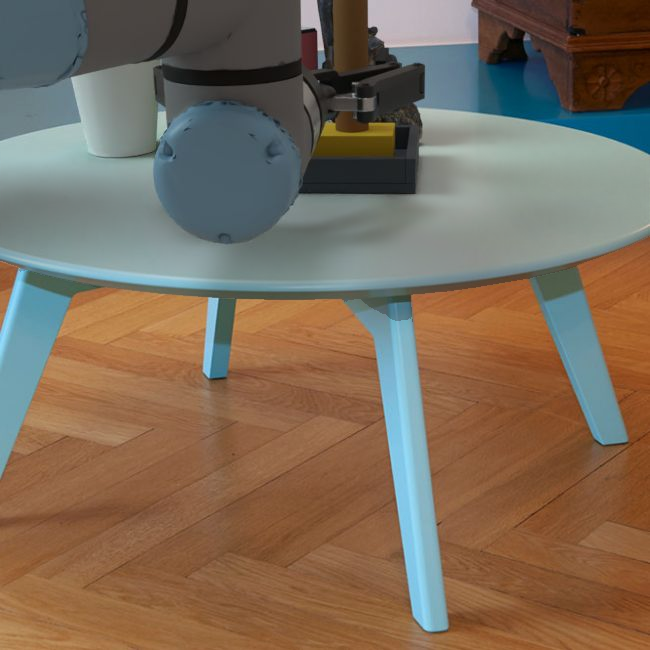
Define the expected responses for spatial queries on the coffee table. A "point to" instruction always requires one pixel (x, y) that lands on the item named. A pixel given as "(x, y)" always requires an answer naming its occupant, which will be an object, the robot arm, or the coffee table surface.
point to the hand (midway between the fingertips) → (299, 65)
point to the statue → (398, 116)
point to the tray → (368, 169)
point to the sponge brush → (346, 131)
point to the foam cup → (118, 109)
